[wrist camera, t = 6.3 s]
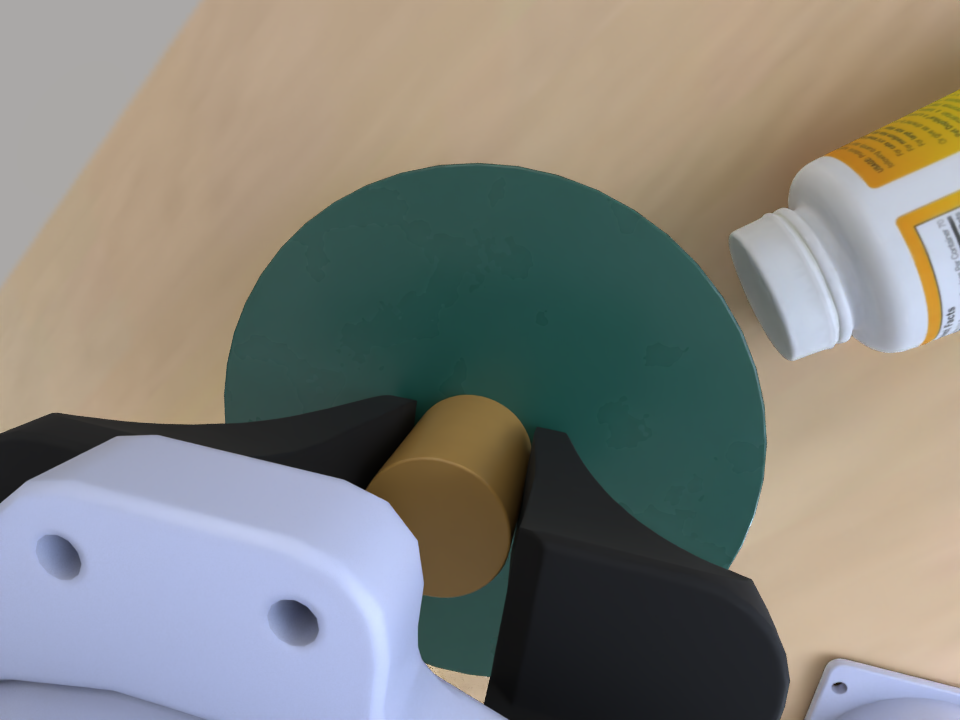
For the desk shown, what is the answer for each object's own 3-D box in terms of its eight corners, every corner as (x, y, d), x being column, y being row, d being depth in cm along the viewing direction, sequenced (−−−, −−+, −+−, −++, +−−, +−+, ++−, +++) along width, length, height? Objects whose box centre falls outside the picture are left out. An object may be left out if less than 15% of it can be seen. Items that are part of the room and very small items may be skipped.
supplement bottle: (1066, 79, 17) (714, 243, 20) (1218, -80, 12) (713, 172, 15) (1193, 247, 15) (792, 397, 18) (1430, 147, 10) (821, 377, 13)
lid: (677, 699, 15) (707, 892, 11) (242, 580, 16) (123, 708, 12) (830, 215, 11) (960, 227, 7) (259, 127, 13) (102, 96, 9)
